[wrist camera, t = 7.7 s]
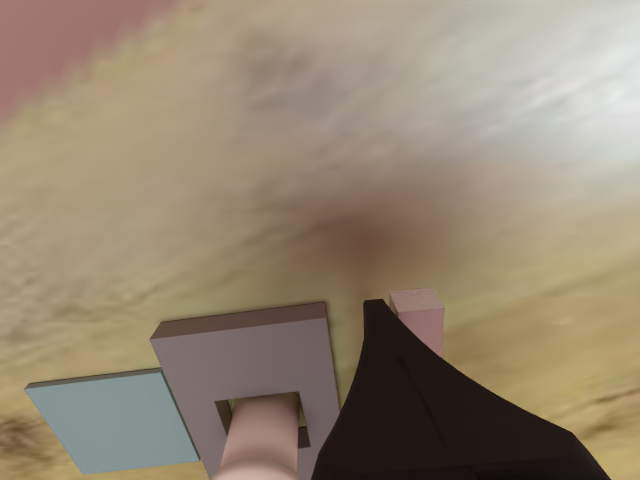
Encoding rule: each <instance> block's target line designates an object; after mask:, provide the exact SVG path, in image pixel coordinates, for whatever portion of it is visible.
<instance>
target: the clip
mask: <svg viewBox="0 0 640 480" xmlns="http://www.w3.org/2000/svg"><path fill="white" fill-rule="evenodd" d="M389 305H390V309H391V310H392V311H393V312H394V313H395V315H396V316H397V317H398V318H399V319H400V320H401V321H402V322H403V323H404V324H405V325H406V326H407V327H408V328H409V329H410V330H411V331H412V332H413V333H414V334H415V335H416V336H417V337H418V338H419V339H420V340H421V341H422V342H423V343H425V344H426V345H427V346H428V347H429V348H430V349H431V350H433V351H434V352H435V353H436V354H437V355H438V356H440V357H441V350H442V335H443V321H444V306H443V305H442V303H441V302H440V300H439V298H438V297H437V295H436V294H435V292H434V291H433V289H432V288H422V289H412V290H402V291H392V292H389Z"/></svg>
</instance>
